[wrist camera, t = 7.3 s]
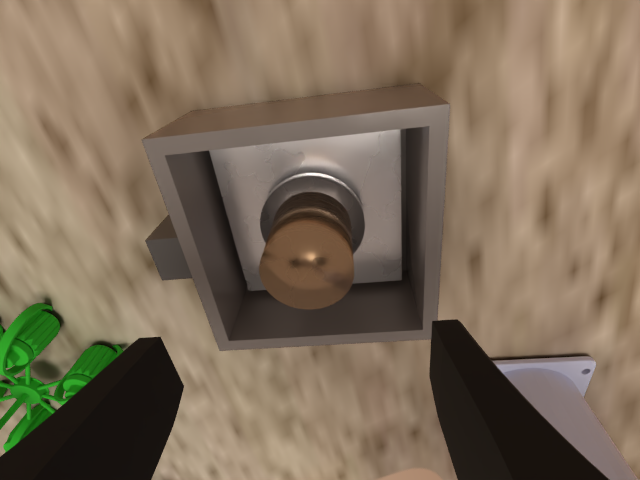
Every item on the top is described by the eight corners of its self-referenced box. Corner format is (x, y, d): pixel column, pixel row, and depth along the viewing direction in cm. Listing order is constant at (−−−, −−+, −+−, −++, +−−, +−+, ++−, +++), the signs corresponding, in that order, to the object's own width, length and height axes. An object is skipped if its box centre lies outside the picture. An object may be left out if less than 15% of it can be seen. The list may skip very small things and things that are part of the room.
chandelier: (-82, 249, 21) (-248, 336, 15) (172, 327, 23) (115, 430, 17) (-51, 397, 28) (-155, 495, 22) (140, 445, 31) (93, 546, 25)
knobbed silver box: (415, 272, 20) (436, 339, 16) (217, 287, 21) (187, 352, 17) (418, 82, 15) (450, 103, 11) (159, 114, 16) (96, 144, 12)
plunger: (400, 274, 19) (418, 346, 14) (250, 285, 19) (226, 356, 15) (398, 115, 15) (423, 151, 10) (209, 137, 15) (161, 179, 11)
